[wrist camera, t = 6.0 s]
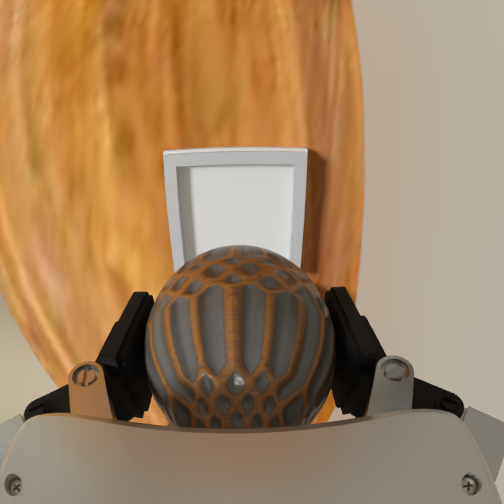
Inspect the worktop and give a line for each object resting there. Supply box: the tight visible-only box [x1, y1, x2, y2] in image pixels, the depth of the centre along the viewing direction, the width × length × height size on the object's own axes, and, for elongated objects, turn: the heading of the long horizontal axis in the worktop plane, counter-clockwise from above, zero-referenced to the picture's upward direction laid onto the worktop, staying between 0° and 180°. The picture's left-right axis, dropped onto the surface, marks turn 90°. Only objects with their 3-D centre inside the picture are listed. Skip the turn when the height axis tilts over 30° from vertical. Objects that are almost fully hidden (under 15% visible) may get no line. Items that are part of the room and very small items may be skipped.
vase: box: [144, 245, 336, 429], centre depth 10 cm, size 7×7×9 cm
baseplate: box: [163, 146, 308, 272], centre depth 26 cm, size 12×12×2 cm
